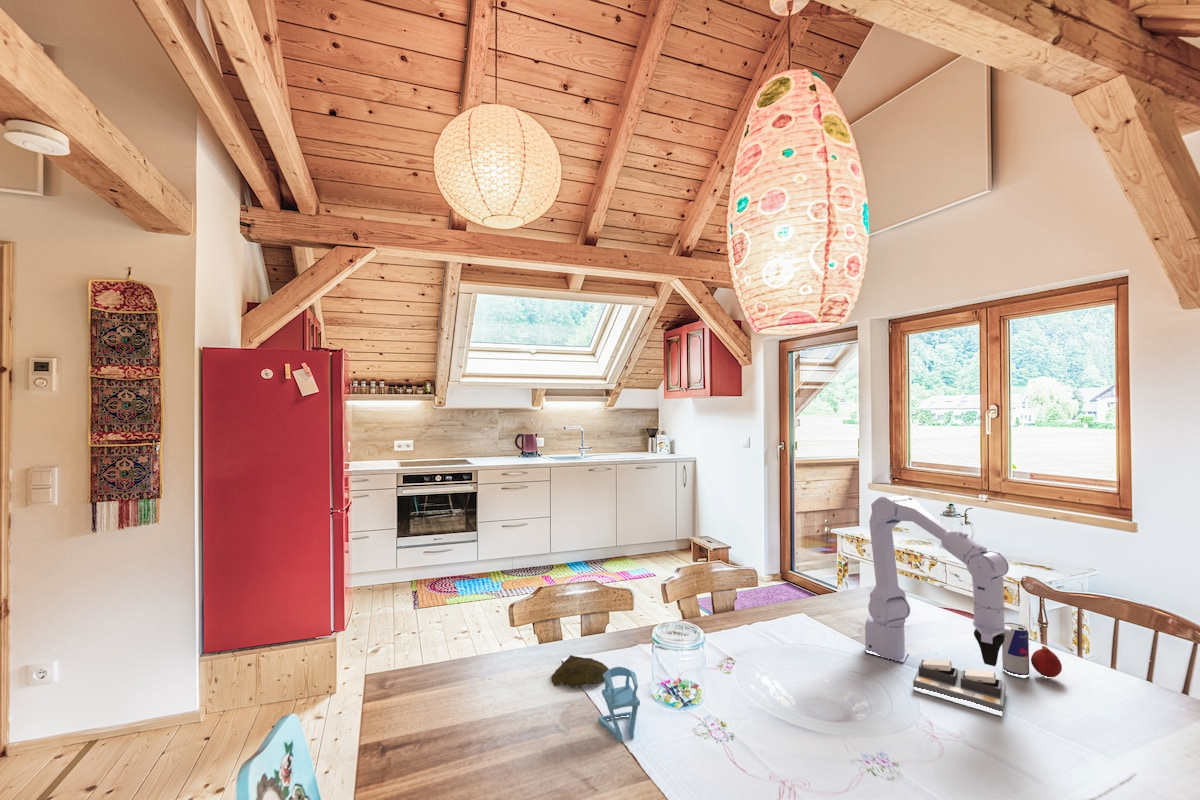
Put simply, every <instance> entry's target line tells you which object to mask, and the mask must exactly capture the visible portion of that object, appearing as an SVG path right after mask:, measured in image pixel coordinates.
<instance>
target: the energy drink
mask: <svg viewBox="0 0 1200 800" xmlns="http://www.w3.org/2000/svg"><path fill="white" fill-rule="evenodd" d="M1004 623H1005V626H1007V627H1011V632H1010V633H1009V632H1003V633H1004V634H1005V639H1004V642H1003V644H1002V645H1001V649H1002V650H1001V652H1002V653H1001V655H1002V656H1001V657H1002V658H1001V661H1002V670H1003V669H1004V670H1006V671H1007V672H1010V673H1013V674H1018V675H1028V674H1029V675H1030V651H1029V650H1030V649H1029V648H1030V643H1029V642H1030V641H1029V631H1028V628H1027V627H1026V626H1024V625H1023V624H1018V623H1014V622H1004Z"/></svg>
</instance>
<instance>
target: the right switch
mask: <svg viewBox="0 0 1200 800" xmlns="http://www.w3.org/2000/svg"><path fill="white" fill-rule="evenodd" d="M965 671H966V672H965V679H968V680H972V681H976V682H979V683H983V682H987V683H995V681H996V679H997V675H996V672H995V671H990V670H978V669H977V670H976V669H967V668H966V669H965Z"/></svg>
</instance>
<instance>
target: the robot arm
mask: <svg viewBox="0 0 1200 800" xmlns="http://www.w3.org/2000/svg"><path fill="white" fill-rule="evenodd" d="M870 506H871V515H870V518H869V522H868V523H869V531H870V542H871V550H872V551H871V552H872V559H873V560H872V561H873V567H874V577H875V586H874V587H873V589H872V590H871V592H869V602H868V606H867V607H868V612H869V616H870V617H866V620H865V629H864V637H865V638H864V641H865V642H864V643H865V645H864V646H865V649H866V650H868V651H872V652H875V653H877V654H878V655H880V656H883V657H886V658H889V659H892V660H891V661H893V660H895V661H894V662H896V661H899V662H898V663H900V662H902V663H901V664H904V663H905V662H906V659H907V658H906V657H908V656H907V655H909V654H908V653H910V651H908V650H905V647H906V644H905V637H906V636H905V624H906V619H907V618H908V617H909V616H910V614H911V605H910V603H909V601H908V599H907V597H906V592H905V591H904V590H903V589H902V588H900V587H899V580H898V572H897V562H896V554H895V553H896V552H895V545H894V536H893V529H894V528H895V527H896V526H897V525H898V524H900V523H901V522H913V523H914V524H916V526H919V527H920V528H921V529H923V530H925V531H927V532H928V534H931V535H932V536H934V537H935V538H936V539H938V540H940V541H941V546H942V548H943V549H944V550H945V551H946V552H948V554H949V553H950V554H951V555H952V556H953V557H954V558H956V559H958V560H959V561H960V562H961V563H963V565H965V566H966V568H967V571H968V572H969V574H970V575H971V578H972V579H971V581H972V584H973V586H972V588H973V589H972V591H973V592H972V593H973V596H972V598H973V620H972V625H973V627H974V628H975V629H974V631H973V636H974V639H975V640H976V641H977V643H978V646H979V649H980V651H981V653H980V654H981V657H982V662H983V664H984V665H988V666H991V667H996V666H997V664H998V663H997V662H998V656H999V652H1000V649H1001V648H1002V644H1003V642H1004V639H1005V634H1004V633H1003V632H1009V633H1010V632H1011V627H1007V626H1005V623H1006V622H1005V588H1004V587H1005V586H1004V576H1005V575H1007V574H1008V572H1009V563H1008V561H1007V559H1006V557H1004V556H1003V555H1002V554H1001V553H1000V552H998V551H995V550H988V549H987V547H986V546H984V545H980V544H979V543H977V542H976V541H975V540H973V539H972V538H970V537H969V534H968V533H967V532H965V530H964V531H960V530H957V529H955V530H951V529H949V528H948V527H947V526H946V525H945V524H943V523H942V522H941V521H939V520H938V518H936V517H934V516H933V515H932V514H930V513H929V512H928V511H927V510H925V508H923V507H922V506H921V505H920V503H919V502H918V501H916V500H915V499H913V498H912V497H911V496H910V495H906V494H900V495H896V496H895V495H894V496H886V497H885V496H880V497H878V498H876V499H875V500H874V501H873V502H872V503H871V505H870ZM889 659H888V660H889ZM903 662H904V663H903Z"/></svg>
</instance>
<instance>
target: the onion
mask: <svg viewBox="0 0 1200 800" xmlns="http://www.w3.org/2000/svg"><path fill="white" fill-rule="evenodd" d="M1030 662H1031V665H1032V667H1033V669H1034V670H1035V671H1036V672H1037V673H1039V675H1041V676H1042V675H1044V676H1047V677H1053V678H1055V677H1057V676H1058V675H1060V674H1061V673H1062V669H1063V665H1062V662H1061V660H1060V658H1059V657H1058V656H1057V655H1056V654H1055V653H1054V652H1053V651H1051V650H1050V649H1049V647H1047V646H1045V645H1041V649H1040V648H1039V649H1037V650H1036V651H1034V652H1033V654H1031V657H1030Z"/></svg>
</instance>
